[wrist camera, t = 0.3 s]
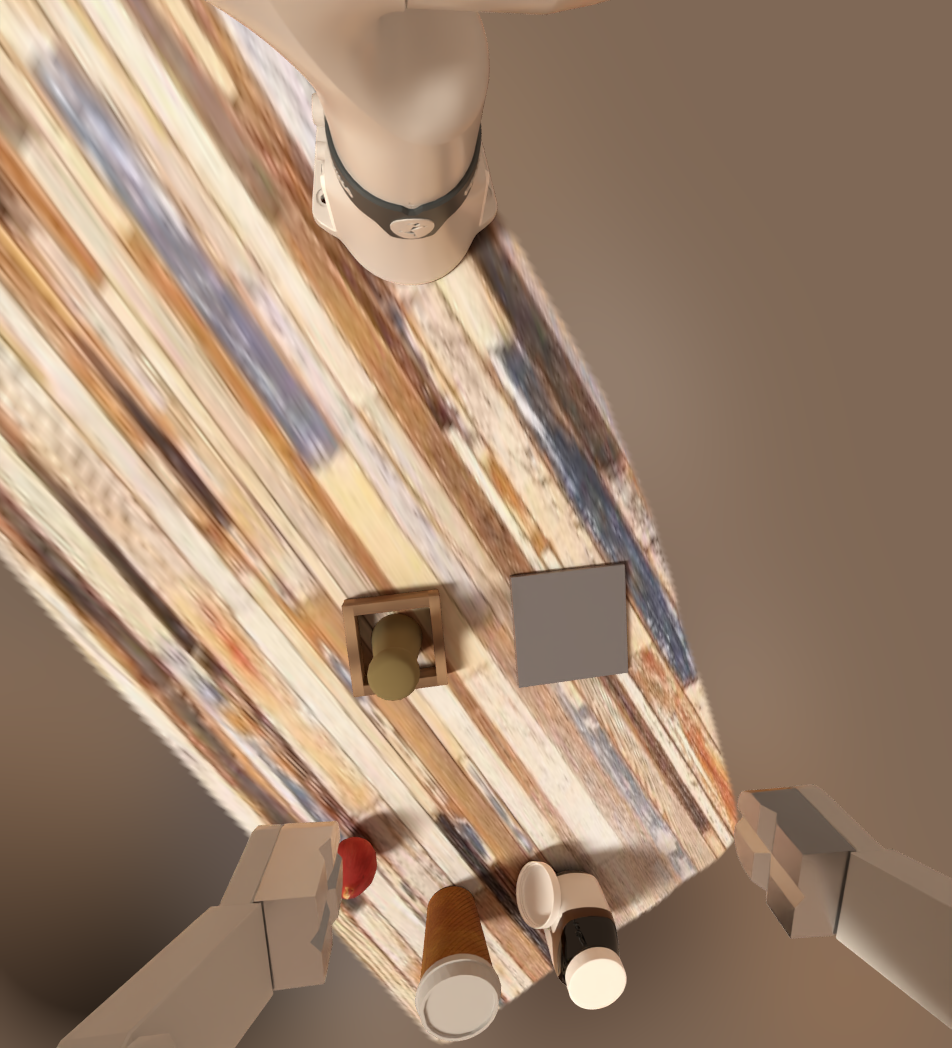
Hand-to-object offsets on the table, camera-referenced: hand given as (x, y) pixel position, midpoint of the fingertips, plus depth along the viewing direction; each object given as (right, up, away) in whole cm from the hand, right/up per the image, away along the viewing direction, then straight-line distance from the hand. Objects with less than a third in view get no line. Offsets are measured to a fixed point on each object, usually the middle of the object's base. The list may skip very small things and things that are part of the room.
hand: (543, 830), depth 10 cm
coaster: (+10, -6, +51) cm, 52 cm away
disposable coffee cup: (-5, -44, +55) cm, 71 cm away
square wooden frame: (-11, -7, +48) cm, 50 cm away
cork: (-11, -7, +49) cm, 50 cm away
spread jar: (+9, -43, +57) cm, 72 cm away
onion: (-17, -34, +52) cm, 64 cm away
